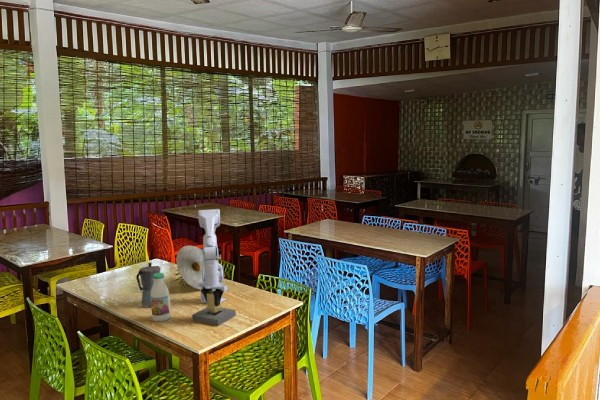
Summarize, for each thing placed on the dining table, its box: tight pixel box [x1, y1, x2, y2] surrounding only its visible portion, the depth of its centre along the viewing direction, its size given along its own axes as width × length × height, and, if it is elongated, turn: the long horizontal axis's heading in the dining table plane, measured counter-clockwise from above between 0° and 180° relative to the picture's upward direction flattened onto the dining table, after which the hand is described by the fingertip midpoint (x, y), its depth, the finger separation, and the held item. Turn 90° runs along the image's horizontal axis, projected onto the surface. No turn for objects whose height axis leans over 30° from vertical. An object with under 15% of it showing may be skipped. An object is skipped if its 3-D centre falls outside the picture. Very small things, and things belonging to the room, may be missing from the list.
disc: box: [171, 245, 204, 290], centre depth 247 cm, size 25×18×25 cm
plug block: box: [206, 291, 222, 313], centre depth 201 cm, size 4×4×8 cm
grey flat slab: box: [191, 306, 237, 327], centre depth 202 cm, size 14×12×2 cm
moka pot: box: [135, 262, 161, 308], centre depth 219 cm, size 10×15×20 cm, turn 161°
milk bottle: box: [150, 272, 172, 322], centre depth 202 cm, size 8×8×20 cm
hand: (213, 304), depth 201 cm, fingers closed on plug block, 4 cm apart
